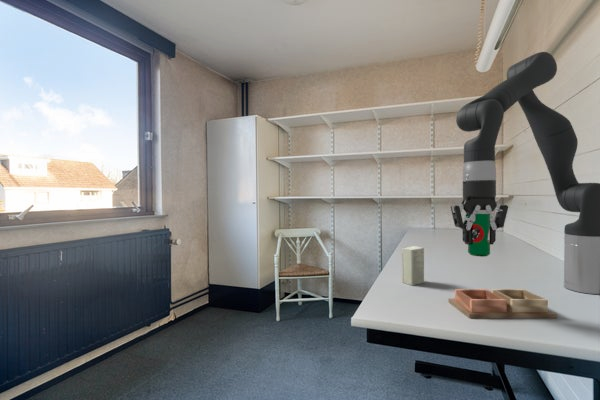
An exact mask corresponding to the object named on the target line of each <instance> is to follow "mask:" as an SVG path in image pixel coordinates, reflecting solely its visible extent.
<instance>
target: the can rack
mask: <svg viewBox="0 0 600 400" xmlns="http://www.w3.org/2000/svg"><path fill="white" fill-rule="evenodd" d="M447 303H449V304H450V305H452V306H453V307H454V308H455V309H456V310H458V311H459V312H461V313H462V314H463V315H464V316H466V317H467V318H468V319H557V313H555V312H553V311H551V310H550V309H548V308H549V305H548V299H546V298H543V297H541V296H540V295H537V294H536V293H535V294H534V293H533V292H530V291H528V290H526V289H524V288H493V289H492V288H491V291H490V290H488V289H487V288H485V289H484V288H482V289H480V288H479V289H477V288H476V289H475V288H473V289H470V288H468V289H467V288H466V289H463V288H461V289H460V288H457V289H456V288H455V289H454V298H448V302H447Z"/></svg>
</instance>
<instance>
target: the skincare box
mask: <svg viewBox="0 0 600 400" xmlns="http://www.w3.org/2000/svg"><path fill="white" fill-rule="evenodd" d="M401 249H402V250H401V252H402V253H401V257H402V258H401V259H402V260H401V261H402V262H401V265H402V266H401V269H402V271H401V272H402V273H401V278H402V280H401V281H402V283H403V284H407V285H409V286H415V285H420V284H424V283H425V248H424V247H420V246H417V245H412V246H405V247H402V248H401Z"/></svg>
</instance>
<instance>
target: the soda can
mask: <svg viewBox="0 0 600 400" xmlns="http://www.w3.org/2000/svg"><path fill="white" fill-rule="evenodd" d="M468 218H470V216H468ZM470 231H471V245H467V253H468V254H469V256H473V257H481V258H482V257H484V258H485V257H489V255H491V244H490V213H489V212H487V210H479V212H477V213H476V214H475V222H474V223H473V224H472V227H471V229H470Z"/></svg>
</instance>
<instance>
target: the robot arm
mask: <svg viewBox="0 0 600 400" xmlns="http://www.w3.org/2000/svg"><path fill="white" fill-rule="evenodd" d="M556 61H557V60H556V59H555V58H554V56H553V55H552V54H551V53H550V52H547V51H541V52H537V53H534V54H532V55H529V56H528V57H526V58H524V59H522V60H520V61H519V62H516V63H514V64H513V65H511V66H509V67H508V68H507V71H506V79H505V80H503V81H502V82H500V83H499V84H497V85H495V86H494V87H492V89H490V90H488V92H485V94H484V95H482V96H480V97H478V98H476V99H474V100H472V101H470V102H468V103H466V104H465V105H463V106H462V107H461V108H460V109H459V110H458V112H457V114H456V118H455V121H456V126H457V127H458V128H459V130H461V131H462V132H475V131H479V133H478V134H477V136H475V137H474V138H472V139H469V140H466V142H465V143H464V145H463V166H462V167H463V168H462V202H461V203H460V204H457V205H456V204H452V205H450V211H451V216H452V220H453V223H454V227H455V228H459V229H461V230H462V243H463V242H464V244H465V245H467V246H468V245H471V231H470V229H471V227H472V224H473V223H474V222H475V214H476V213H477V212H479V210H487V212H489V213H490V245H494V243H496V234H497V233H496V230H497V229H500V228H501V229H502V228H504V226H505V222H506V218H507V213H508V209H509V205H507V204H499V203H497V202H496V196H497V168H496V148H495V147H496V143H497V139H498V135H499V132H500V129H501V126H502V123H503V119H504V113H505V112H507V111H508V110H509V109H511V108H512V107H513V106H514V105H515V104H516V103H518V104H519V107H520V108H521V110H522V111H523V113H524V115H525V118H526V120H527V122H528V124H529V127H530V129H531V132H532V133H533V138H534V139H535V141H536V145H537V147H538V149H539V151H540V153H541V156H542V158H543V160H544V163H545V165H546V168H547V170H548V173H549V176H550V179H551V182H552V183H551V184H552V186H553V190H554V193H555V196H556V199H557V202H558V204H559V206H560V207H561V208H562V209H563V210H564V211H567V212H571V213H579V217H578V219H577V220H576V221H574V222H570V223H567V224H565V225H564V231H563V232H564V237H563V240H564V245H563V247H564V248H563V249H564V250H563V251H564V252H563V253H564V254H563V258H564V259H563V261H564V262H563V266H564V267H563V287H564V288H565V289H567V290H570V291H574V292H578V293H581V294H582V293H584V294H592V295H600V183H599V182H579V181H578V179H577V178H576V175H575V173H574V168H573V167H574V166H573V165H574V164H573V163H574V160H575V157H576V153H577V149H578V145H579V143H578V138H577V135H576V132H575V130H574V128H573V125H572V122H571V121H570V120H569V118H567V117H566V116H565V115H563V114H561V113H560V112H558V111H556V110H554V109H553V108H551V107H549V106H547V105H546V104H545V103H543V102H542V101H541V100H540V98H539V97H538V96H537V94H535V92H534V90H535V89H536V88H538V87H540V86H542V85H545V84H546V83H548V82H551V80H553V79H554V78H555V76H556V74H557V72H558V66H557V62H556ZM463 211H464V212H465V214H464V217H463V216H462V213H463ZM494 211H495V216H494V213H493V212H494ZM468 216H470V218H468Z"/></svg>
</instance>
